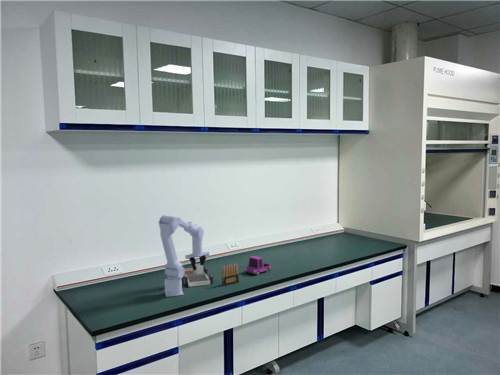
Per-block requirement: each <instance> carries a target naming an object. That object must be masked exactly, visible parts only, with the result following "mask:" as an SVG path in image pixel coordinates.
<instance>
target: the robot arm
mask: <svg viewBox="0 0 500 375" xmlns="http://www.w3.org/2000/svg"><path fill="white" fill-rule="evenodd" d="M158 225H159V232H160V238H161V243H162V247H163V251H164V255H165V257H166V263H165V264H164V269H165V270H164V274H165V276H166V277H167V278H165V279H164V294H165V297H166V298H167V297H168V298H169V297H176V296H177V297H178V296H184V295H185V294H184V292H183V284H182V283H183V281H182V280H183V279H184V274H185V270H184V269H185V268H184V266H183V264H182V263H181V262H180V261H179V260H178V256H177V252H176V248H175V245H174V240H173V237H172V235H173V234H174V233H175V232H176V231H177V229H178V228H179V227H181V228H183V230H184V232H186V233H188V234H189V235H190V236H191V238H192V239H191V240H192V241H191V242H192V244H191V245H192V249H191V250H192V253H190V254H185V255H184V256H185V259H186V260H189V262H190V263H191V266H192V267H191V268H193V270H195V264H196V261H197V260H196V258H198V259H199V263H200V264H202V265H203V266H204V265H205V261H206V259H207V257H209V256H210V252H209V251H204V252H203V238H204V233H205V231H204V228H203V227H201V226H198V224H194V223H193V221H188V222H186V221H185V220H183V219H181V217H179V216H174V215H173V216H172V215H166V214H165V215H164V214H163V215H161V216H160V217H159V220H158Z"/></svg>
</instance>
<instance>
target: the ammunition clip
mask: <svg viewBox="0 0 500 375" xmlns="http://www.w3.org/2000/svg"><path fill="white" fill-rule="evenodd" d="M238 269H239V268H238V263H237V262H235V263H230V264H228V265H227V264H225V265H223V266H222V276H221V285H222V286H223V287H224V286H229V285H233V284H238V283H240V282H239V279H240V278H239V272H238V271H239V270H238Z"/></svg>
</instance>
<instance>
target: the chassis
mask: <svg viewBox="0 0 500 375" xmlns="http://www.w3.org/2000/svg"><path fill="white" fill-rule="evenodd" d="M184 270H185V274H184V276H183V285H184V286H187V287H188V288H194V287H204V286H211V283H213V282H214V276H213V274H212V273H209V274H208V267H207V266H204V265H203V274H198V275H197V274H195V273H194V270H193V267H187V268H186V267H185V268H184ZM207 274H208V275H207Z"/></svg>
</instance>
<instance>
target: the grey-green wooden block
mask: <svg viewBox="0 0 500 375" xmlns="http://www.w3.org/2000/svg"><path fill="white" fill-rule="evenodd" d="M203 267H204V264H203V265H202V264H200V262H199V263H195V270H194V273H195V274H197V275H198V274H203Z"/></svg>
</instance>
